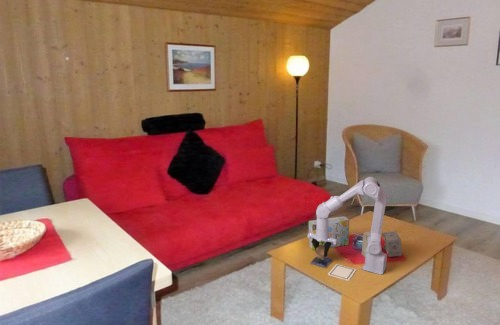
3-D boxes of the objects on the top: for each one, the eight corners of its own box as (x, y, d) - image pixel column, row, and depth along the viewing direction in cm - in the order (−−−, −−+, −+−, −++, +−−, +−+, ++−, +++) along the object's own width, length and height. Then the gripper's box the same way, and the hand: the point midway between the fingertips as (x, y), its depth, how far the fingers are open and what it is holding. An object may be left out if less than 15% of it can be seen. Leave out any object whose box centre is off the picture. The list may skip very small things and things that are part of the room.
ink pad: (332, 260, 184) (332, 258, 184) (325, 268, 177) (325, 266, 177) (317, 256, 188) (317, 254, 188) (310, 263, 181) (310, 261, 181)
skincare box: (366, 258, 185) (367, 235, 183) (361, 254, 190) (362, 232, 187) (377, 256, 187) (378, 234, 184) (372, 252, 191) (373, 230, 188)
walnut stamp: (327, 255, 183) (327, 246, 182) (323, 259, 179) (323, 250, 178) (319, 253, 185) (320, 244, 184) (315, 257, 181) (315, 248, 180)
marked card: (356, 270, 175) (356, 269, 175) (348, 281, 166) (348, 280, 166) (336, 264, 180) (336, 263, 180) (327, 274, 171) (327, 274, 171)
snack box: (343, 241, 205) (344, 215, 201) (348, 245, 199) (349, 219, 196) (308, 246, 200) (308, 220, 196) (312, 250, 194) (312, 224, 191)
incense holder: (381, 248, 195) (382, 230, 193) (397, 249, 194) (398, 230, 192) (384, 257, 186) (386, 238, 183) (402, 258, 185) (403, 239, 182)
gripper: (305, 228, 179) (304, 253, 182) (333, 235, 171) (332, 261, 175) (311, 223, 185) (310, 248, 188) (339, 229, 177) (338, 255, 180)
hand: (321, 254), depth 182 cm, fingers closed on walnut stamp, 4 cm apart
